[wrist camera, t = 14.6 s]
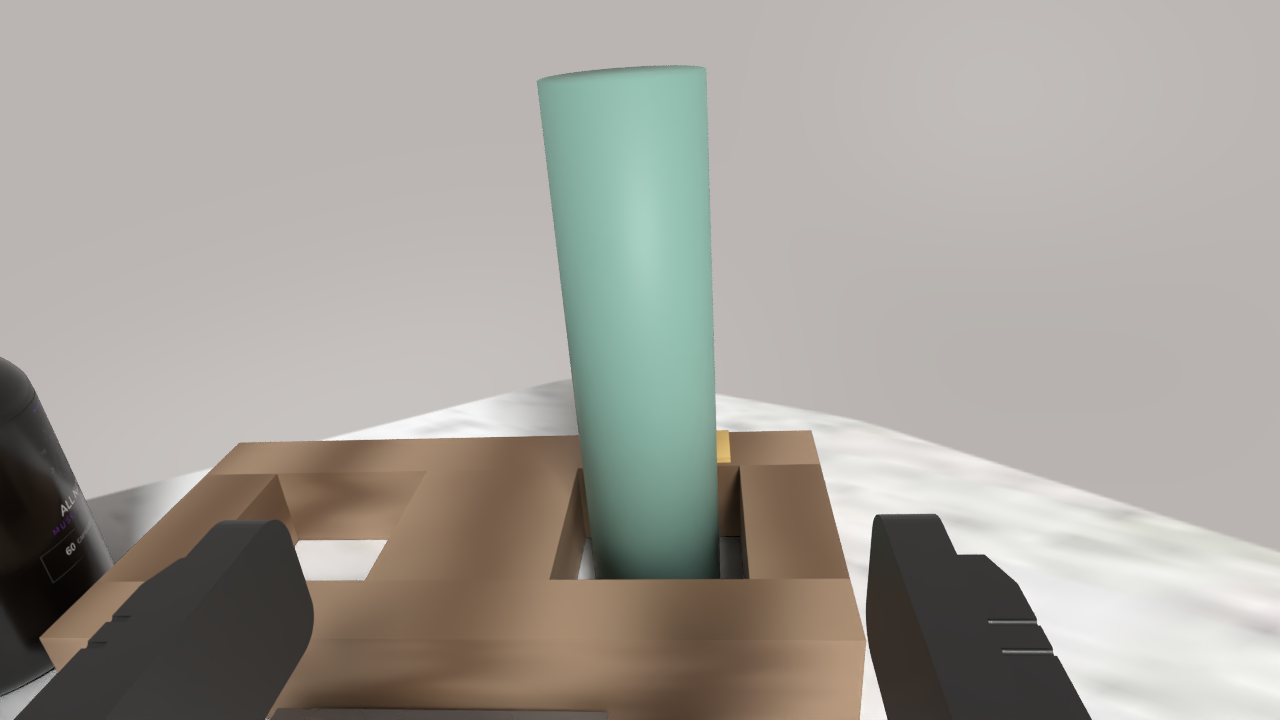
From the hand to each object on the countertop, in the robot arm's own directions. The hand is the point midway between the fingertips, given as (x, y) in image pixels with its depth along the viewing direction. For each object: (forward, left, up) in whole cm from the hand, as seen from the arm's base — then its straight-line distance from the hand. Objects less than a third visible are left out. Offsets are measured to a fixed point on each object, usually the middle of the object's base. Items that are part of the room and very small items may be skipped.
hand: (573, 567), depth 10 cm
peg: (0, +11, -11) cm, 15 cm away
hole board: (-5, +11, -11) cm, 16 cm away
